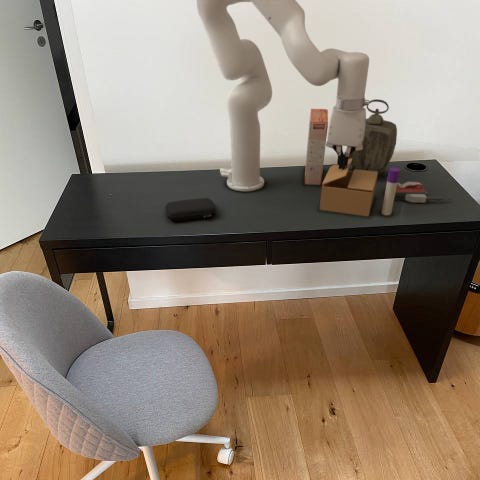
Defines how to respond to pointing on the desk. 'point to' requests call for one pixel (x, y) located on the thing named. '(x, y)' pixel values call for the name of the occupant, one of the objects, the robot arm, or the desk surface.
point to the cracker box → (316, 146)
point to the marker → (390, 190)
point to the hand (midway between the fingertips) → (341, 167)
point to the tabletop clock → (376, 143)
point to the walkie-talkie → (414, 193)
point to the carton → (350, 193)
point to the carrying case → (190, 209)
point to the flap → (336, 172)
